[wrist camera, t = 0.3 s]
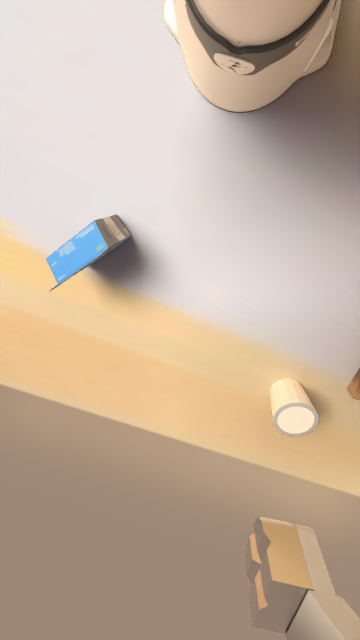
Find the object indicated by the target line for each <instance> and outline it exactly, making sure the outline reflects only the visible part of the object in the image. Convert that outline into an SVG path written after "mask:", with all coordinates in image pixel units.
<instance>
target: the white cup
mask: <svg viewBox="0 0 360 640" xmlns="http://www.w3.org/2000/svg"><path fill="white" fill-rule="evenodd" d="M270 397H271V407H272V417H273V425H274V426H275V428H276V430H277V431H279V432H280V433H282V434H284V435H287V436H291V437H293V436H303V435H306V434H309V433H310V432H311V431H313V430H314V429H315V428H316V426H317V424H318V423H319V415H318V413H317V412H316V410H315V408H314V406H313V405H312V403H311V401H310V400H309V398H308V396H307V394H306V393H305V391H304V389H303V388H302V386H301V384H300V383H298V382H297V381H296V380H292V379H282V380H280V381H277V382H276V383H275V384H273V385H272V387H271V389H270Z"/></svg>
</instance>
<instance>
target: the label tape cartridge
mask: <svg viewBox="0 0 360 640" xmlns="http://www.w3.org/2000/svg"><path fill="white" fill-rule="evenodd" d="M130 236H131V234H130V232H129V231H128V229H127V228H126V227H125V225H124V224H123V223H122V221H121V220H120V219H119V217H118V216H117V215H113V216H110V217H106V218H102V219H98V220H94V221H93V222H92V223H91V224H89V225H88V226H87V227H86V228H84V229H83V230H82V231H81V232H79V233H78V234H77V235H75V236H74V237H73V238H72V239H70V240H69V241H68V242H67V243H65V244H64V245H63V246H61V247H60V248H59V249H58V250H57V251H55V252H54V253H53V254H51V255H50V256H49V257H48V258H46V260H47V262H48V264H49V266H50V268H51V270H52V272H53V275H54V277H55V279H56V281H57V283H58V285H57V286H59V285H60V284H61V283H63V282H64V281H66V280H67V279H69V278H70V277H71V276H73V275H75V274H76V273H78V272H79V271H81V270H83V269H84V268H86V267H87V266H89V265H91V264H93V263H94V262H96V261H97V260H99V259H100V258H101V257H103V256H104V255H106V254H107V253H109V252H110V251H111V250H113V249H114V248H116V247H117V246H118V245H120V244H121V243H123V242H124V241H125V240H127V239H128V238H129V237H130ZM57 286H55V287H54V288H56V287H57ZM54 288H52V289H51V290H53V289H54ZM51 290H50V291H51ZM50 291H49V292H50Z"/></svg>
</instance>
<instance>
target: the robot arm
mask: <svg viewBox="0 0 360 640" xmlns="http://www.w3.org/2000/svg"><path fill="white" fill-rule="evenodd" d="M341 2H342V0H166V2H165V6H164V18H165V22H166V24H167V26H168V28H169V30H170V31H171V33H172V34H173V36H174V37H175V38H176V40H177V41H178V42H179V44H180V47H181V49H182V52H183V56H184V60H185V64H186V67H187V70H188V73H189V75H190V77H191V79H192V81H193V83H194V85H195V86H196V88H197V89H198V90H199V92H200V93H201V94H202V95H203V96H204V97H205V98H206V99H207V100H208V101H210V102H211V103H213V104H214V105H216V106H218V107H220V108H222V109H225V110H229V111H236V112H244V111H251V110H255V109H258V108H261V107H263V106H265V105H267V104H269V103H271V102H272V101H274V100H275V99H276V98H278V97H279V96H280V95H281V94H283V93H284V92H285V91H286V90H287V89H288V88H289V87H290V86H291V85H292V84H293V83H294V82H295V81H296V80H297V79H299V78H300V77H303V76H305V75H308V74H310V73H312V72H314V71H316V70H318V69H320V68H321V67H322V66H323V65H324V64H325V63H326V62H327V60H328V58H329V56H330V53H331V50H332V45H333V40H334V35H335V31H336V26H337V21H338V16H339V12H340V7H341ZM323 42H324V43H323ZM254 532H255V533H253V534H252V535H250V536H249V539H248V542H247V548H246V572H247V576H248V578H249V579H250V581H251V582H252V584H253V585H252V587H251V590H250V593H249V600H250V608H251V617H252V625H253V626H256V627H259V628H264V629H267V630H271V631H275V632H279V633H282V634H286V636H285V637H286V639H287V640H360V619H359V618H358V616H357V615H356V614H355V613H354V611H353V610H352V609H351V608H350V607H349V605H348V604H347V603H346V602H345V600H344V599H343V598H342V597H339V596H336V594H335V591H334V588H333V585H332V582H331V580H330V577H329V574H328V571H327V568H326V565H325V562H324V559H323V556H322V553H321V551H320V548H319V545H318V542H317V539H316V536H315V533H314V531H313V530H312V529H311V528H310V527H306V526H302V525H297V524H292V523H289V522H284V521H279V520H274V519H269V518H263V517H257V518H256V520H255V523H254Z"/></svg>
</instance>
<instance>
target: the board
mask: <svg viewBox="0 0 360 640" xmlns="http://www.w3.org/2000/svg"><path fill="white" fill-rule="evenodd" d="M347 390H348V391H349V393H350V394H351V396H352V398H354V399H357V400H360V369H359V370H358V372H357V374H356V375H355V377H354V378H353V380H352V381H351V383H350V385H349V386H348V388H347Z"/></svg>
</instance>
